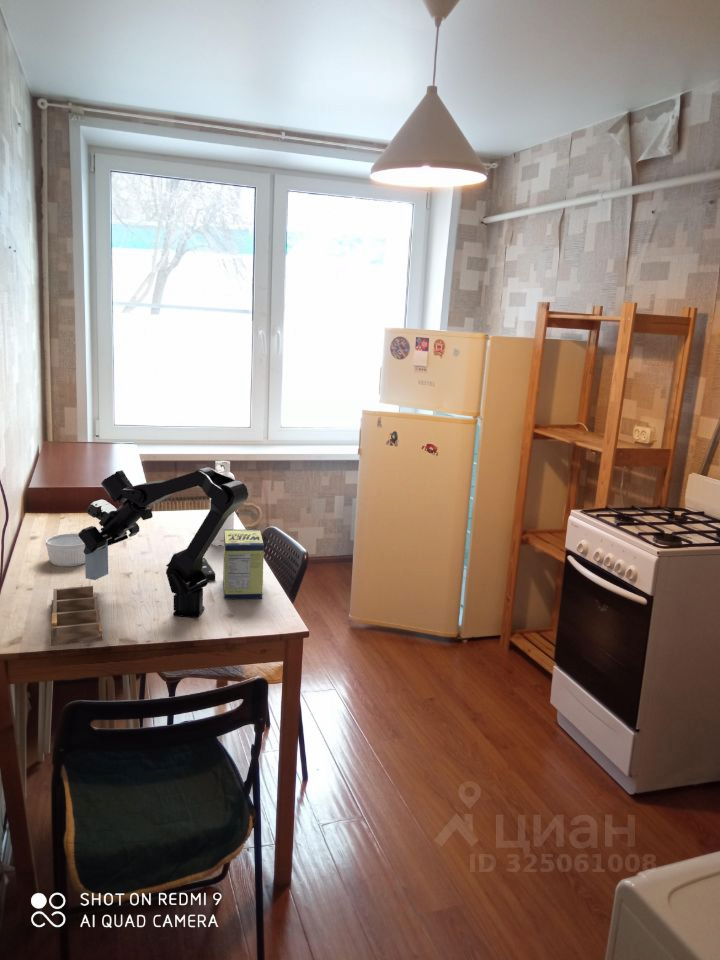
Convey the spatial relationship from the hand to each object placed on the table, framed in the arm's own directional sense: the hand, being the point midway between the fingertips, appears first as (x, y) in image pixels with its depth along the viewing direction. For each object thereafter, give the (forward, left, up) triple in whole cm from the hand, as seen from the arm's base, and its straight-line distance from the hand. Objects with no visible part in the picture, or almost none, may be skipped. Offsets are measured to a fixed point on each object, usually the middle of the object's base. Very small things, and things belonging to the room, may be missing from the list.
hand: (92, 550), depth 190 cm
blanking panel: (-1, 0, -7) cm, 7 cm away
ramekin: (+17, -22, -12) cm, 30 cm away
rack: (-4, +20, -11) cm, 23 cm away
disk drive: (-22, -19, -12) cm, 31 cm away
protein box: (-39, -10, -12) cm, 42 cm away
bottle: (-22, -51, -12) cm, 57 cm away
